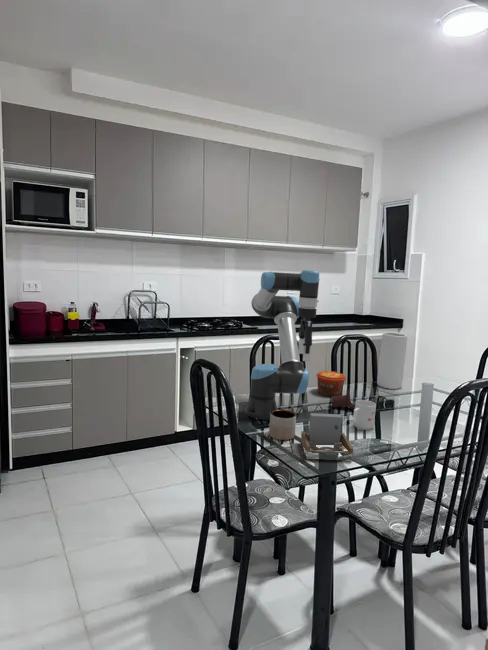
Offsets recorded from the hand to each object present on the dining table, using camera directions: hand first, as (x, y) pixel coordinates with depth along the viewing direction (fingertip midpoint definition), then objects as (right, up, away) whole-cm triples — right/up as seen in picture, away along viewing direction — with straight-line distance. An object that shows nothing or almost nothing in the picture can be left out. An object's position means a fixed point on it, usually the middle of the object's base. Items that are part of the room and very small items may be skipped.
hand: (303, 357), depth 194 cm
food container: (+22, -24, +58) cm, 67 cm away
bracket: (+27, -28, +35) cm, 52 cm away
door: (+6, -33, -13) cm, 37 cm away
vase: (+61, -23, +79) cm, 103 cm away
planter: (-10, -33, -4) cm, 34 cm away
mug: (+27, -32, +10) cm, 43 cm away
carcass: (+6, -35, -17) cm, 40 cm away
